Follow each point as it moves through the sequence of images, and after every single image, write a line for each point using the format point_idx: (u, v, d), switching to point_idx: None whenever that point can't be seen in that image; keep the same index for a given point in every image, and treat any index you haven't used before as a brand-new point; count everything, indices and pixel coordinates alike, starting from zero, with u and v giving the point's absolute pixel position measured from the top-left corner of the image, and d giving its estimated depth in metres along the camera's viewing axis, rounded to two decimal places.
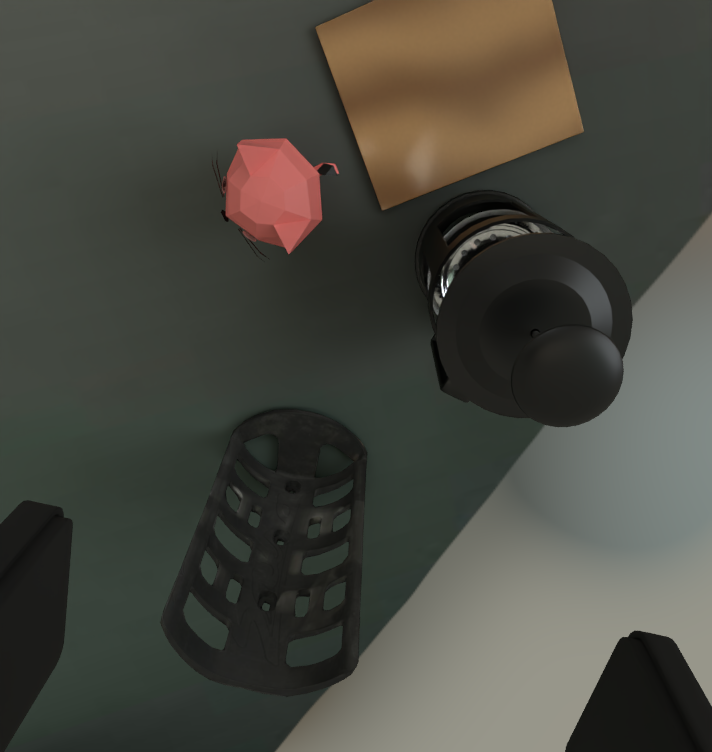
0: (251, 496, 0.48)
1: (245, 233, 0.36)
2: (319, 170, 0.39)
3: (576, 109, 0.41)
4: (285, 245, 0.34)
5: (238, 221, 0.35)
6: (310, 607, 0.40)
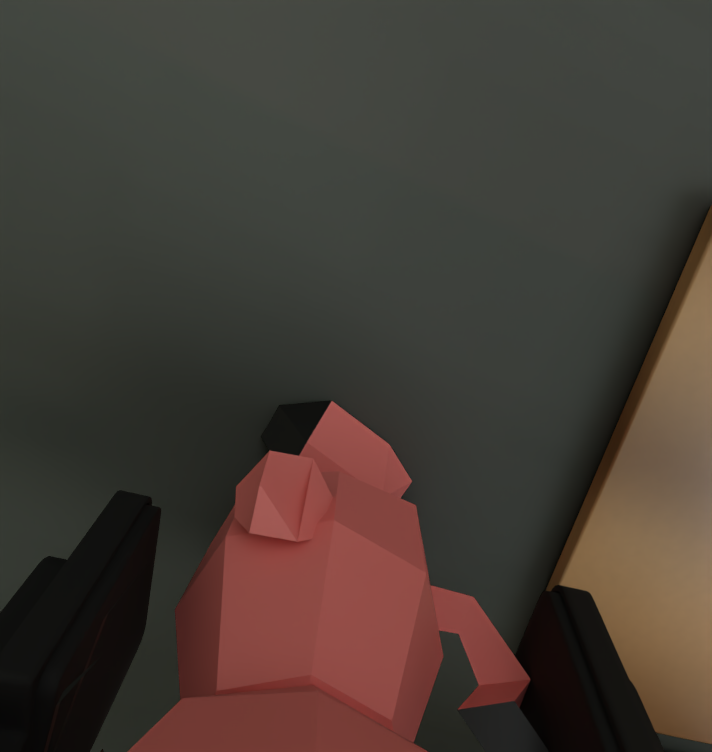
0: None
1: None
2: (485, 719, 0.10)
3: None
4: None
5: None
6: None
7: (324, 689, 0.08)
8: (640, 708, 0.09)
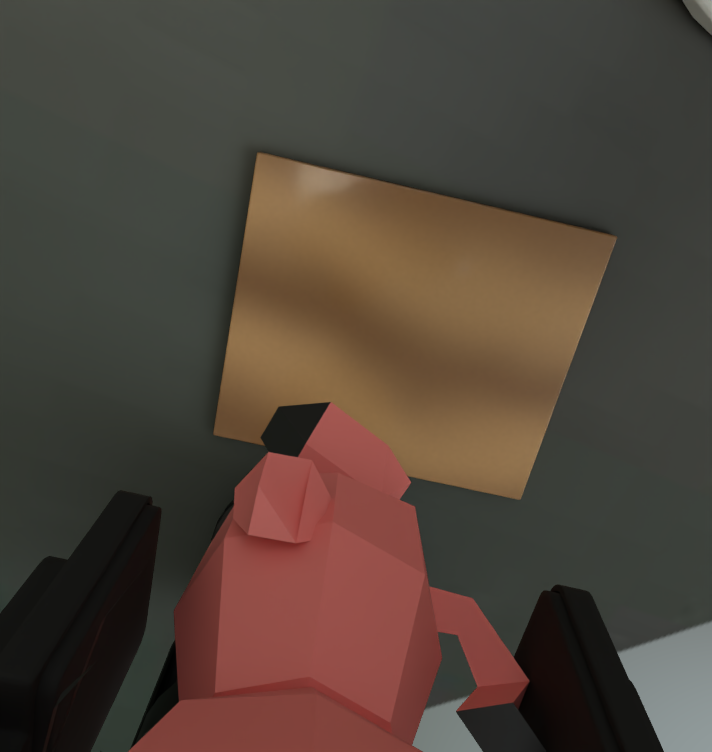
0: None
1: None
2: (484, 721, 0.10)
3: (528, 471, 0.28)
4: None
5: None
6: None
7: (322, 691, 0.08)
8: (640, 708, 0.09)
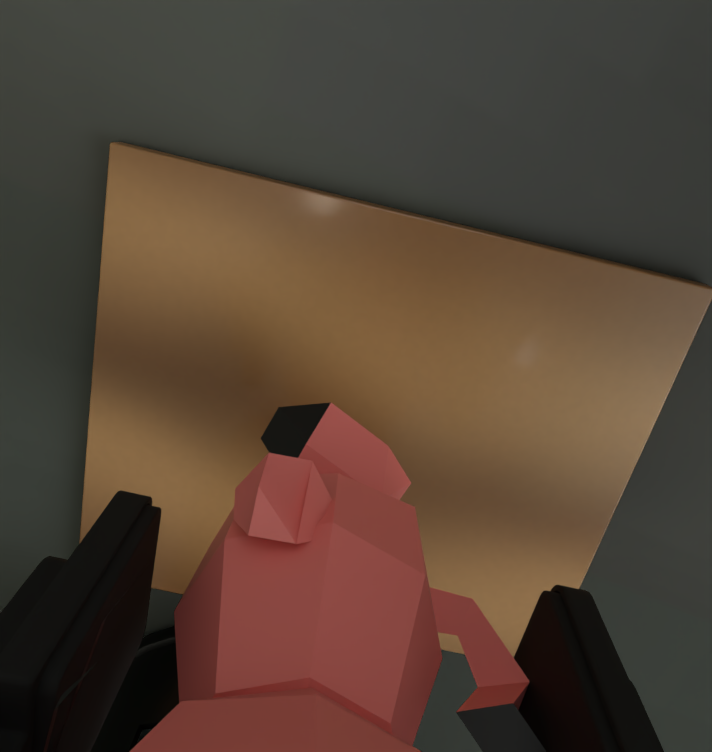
0: None
1: None
2: (484, 722, 0.10)
3: None
4: None
5: None
6: None
7: (323, 692, 0.08)
8: (640, 708, 0.09)
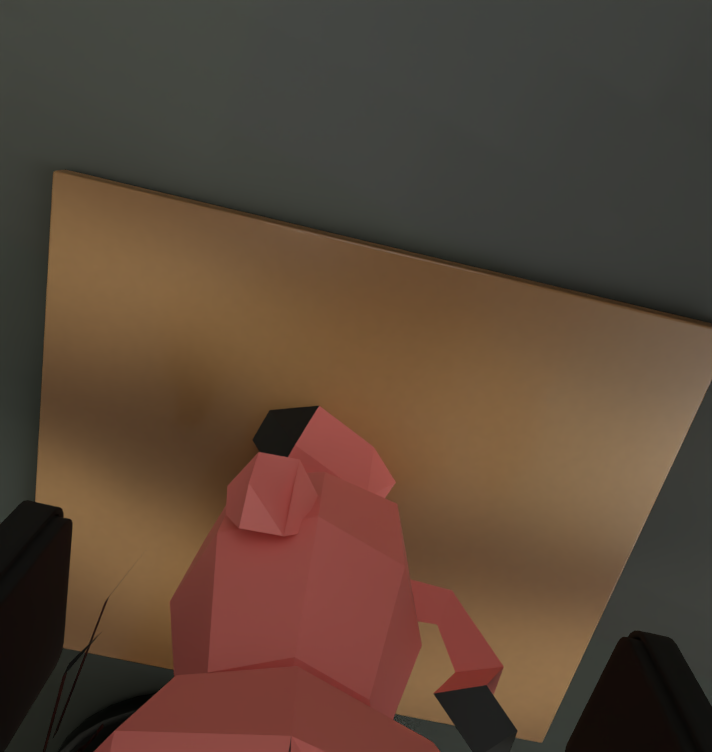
0: None
1: None
2: (459, 702, 0.10)
3: (557, 703, 0.17)
4: None
5: None
6: None
7: (307, 670, 0.09)
8: None
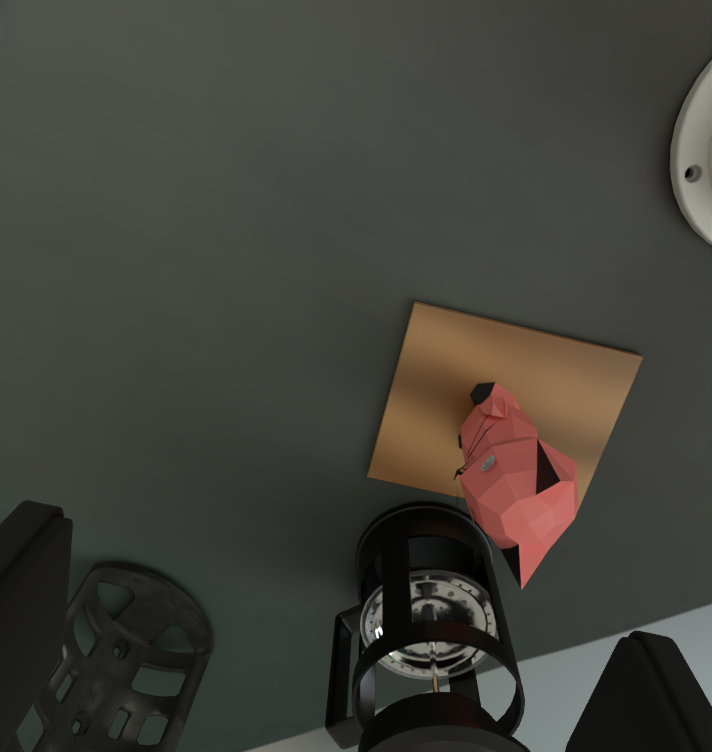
0: (74, 655, 0.42)
1: (470, 511, 0.32)
2: None
3: (579, 503, 0.42)
4: (521, 576, 0.30)
5: (483, 512, 0.30)
6: None
7: None
8: None
